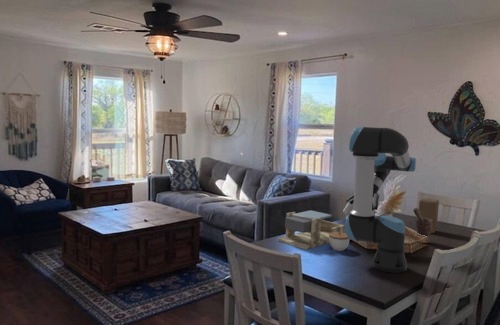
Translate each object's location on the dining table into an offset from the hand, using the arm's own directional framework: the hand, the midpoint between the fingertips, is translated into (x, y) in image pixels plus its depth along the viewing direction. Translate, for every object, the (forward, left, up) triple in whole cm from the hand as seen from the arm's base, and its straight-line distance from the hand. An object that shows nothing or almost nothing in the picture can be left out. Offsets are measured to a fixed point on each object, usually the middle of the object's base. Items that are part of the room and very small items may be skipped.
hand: (353, 215), depth 222 cm
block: (+57, -32, -17) cm, 68 cm away
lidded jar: (-10, +5, -17) cm, 20 cm away
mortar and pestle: (+28, -32, -17) cm, 46 cm away
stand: (-2, +23, -17) cm, 28 cm away
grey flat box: (-6, +24, -9) cm, 26 cm away
